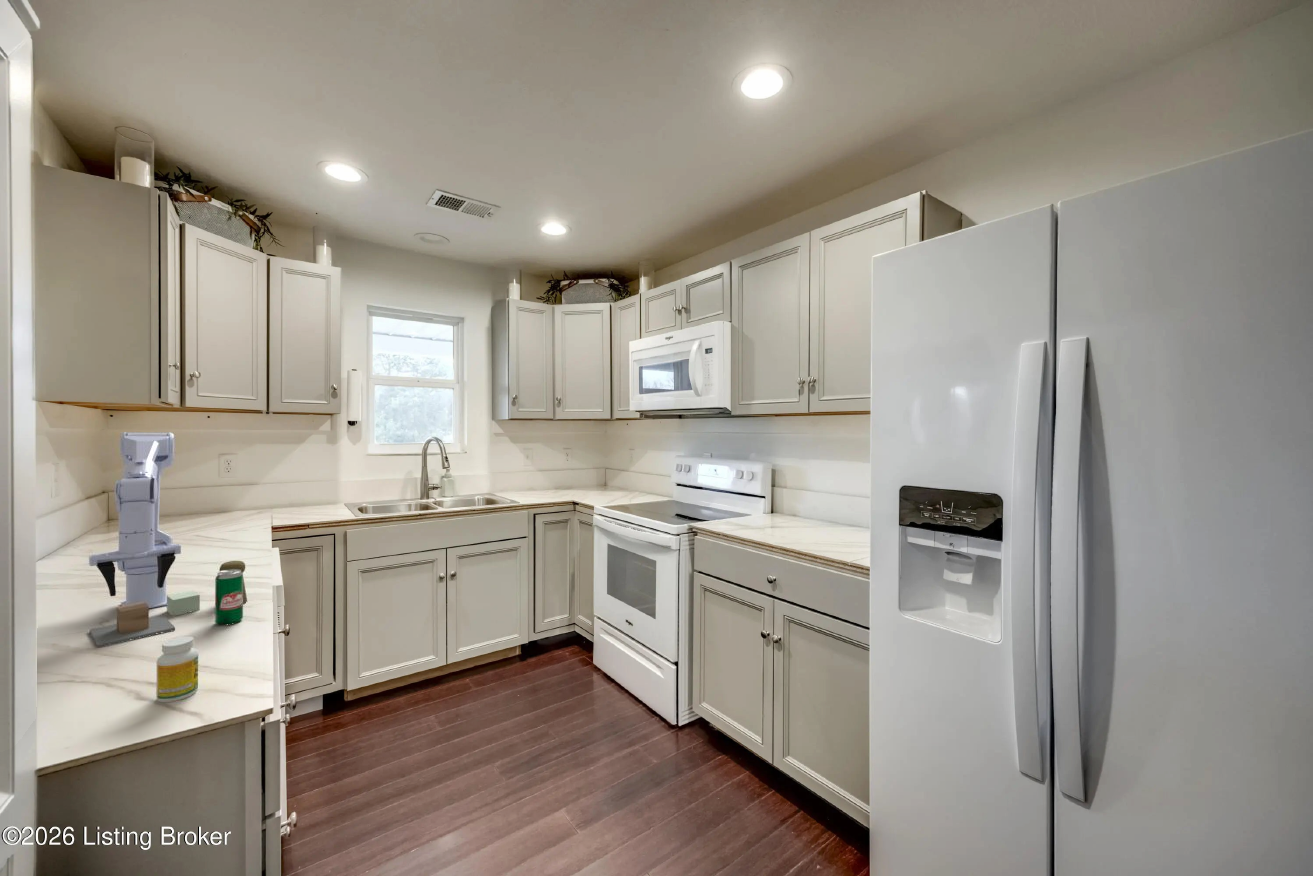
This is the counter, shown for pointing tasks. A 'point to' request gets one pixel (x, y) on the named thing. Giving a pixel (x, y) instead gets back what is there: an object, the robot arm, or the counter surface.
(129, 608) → the walnut block
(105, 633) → the mat
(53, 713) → the counter surface
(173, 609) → the sage block
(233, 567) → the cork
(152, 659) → the counter surface
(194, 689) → the supplement bottle
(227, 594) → the soda can
